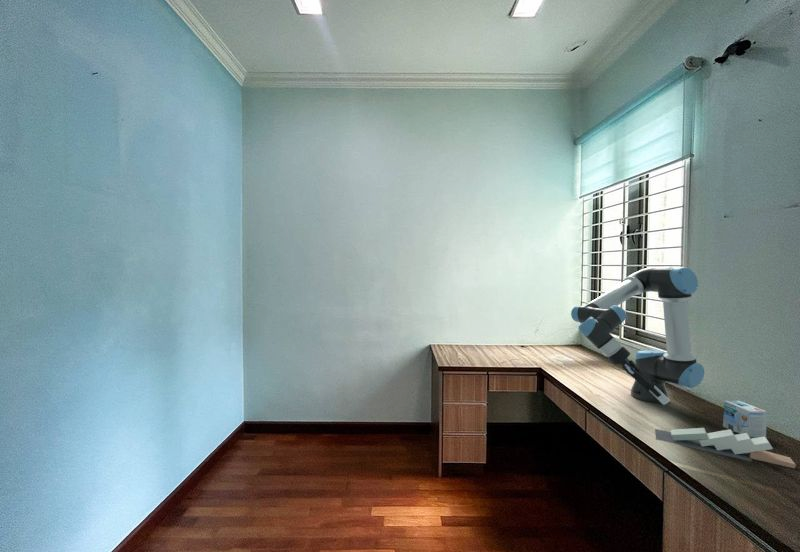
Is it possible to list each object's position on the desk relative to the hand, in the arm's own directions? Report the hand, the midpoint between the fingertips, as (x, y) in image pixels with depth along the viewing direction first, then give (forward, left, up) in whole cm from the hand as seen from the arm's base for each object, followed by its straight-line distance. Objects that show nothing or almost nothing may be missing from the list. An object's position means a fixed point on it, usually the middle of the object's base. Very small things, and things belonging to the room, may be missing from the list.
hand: (666, 402), depth 126 cm
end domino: (-1, +22, -12) cm, 25 cm away
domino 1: (-1, +2, -12) cm, 12 cm away
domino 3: (-1, +13, -12) cm, 18 cm away
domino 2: (-1, +9, -12) cm, 15 cm away
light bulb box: (-24, +25, -14) cm, 37 cm away
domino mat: (-1, +9, -14) cm, 17 cm away
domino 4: (-1, +18, -12) cm, 21 cm away
